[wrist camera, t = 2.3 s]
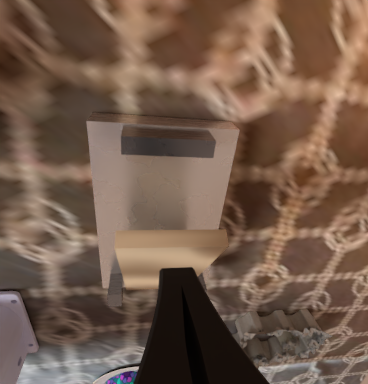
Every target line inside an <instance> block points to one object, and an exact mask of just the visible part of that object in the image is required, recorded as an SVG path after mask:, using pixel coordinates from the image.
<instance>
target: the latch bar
mask: <svg viewBox="0 0 368 384" xmlns="http://www.w3.org/2000/svg"><path fill="white" fill-rule="evenodd" d="M228 246H229V244H228V237H227V231H226V229H213V230H120V231H116V234H115V252H116V255H117V259H118V262H119V266H120V269H121V273H122V276H123V280H124V283H125V286H126V290H141V289H158V285H159V271H160V270H161V269H162V268H182V267H192V268H193V269H194V270H195V272H196V274H197V276H199V275H200V274H201V273H202V272H203V271H204V270H205V269H206V268H207V267H208V266H209V265H210V264H211V263H212V262H213V261H214V260H215V259H216V258H217V257H218V256H219V255H220V254H221V253H222V252H223V251H224V250H225V249H226V248H227V247H228Z"/></svg>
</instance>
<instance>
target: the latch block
mask: <svg viewBox="0 0 368 384" xmlns="http://www.w3.org/2000/svg"><path fill="white" fill-rule="evenodd" d="M87 130H88V140H89V151H90V161H91V171H92V182H93V192H94V202H95V213H96V223H97V233H98V244H99V254H100V264H101V274H102V285H103V288H108V294H107V296H108V307H115V306H122V297H123V287H126V286H125V283H124V280H123V276H122V273H121V269H120V266H119V262H118V259H117V255H116V252H115V234H116V231H120V230H213V229H219V224H220V220H221V215H222V210H223V206H224V201H225V196H226V192H227V187H228V182H229V178H230V173H231V168H232V164H233V159H234V154H235V149H236V145H237V140H238V135H239V131H240V130H239V129H238V128H237V127H236V126H235V125H234V124H233V123H231V122H230V121H218V120H202V119H187V118H172V117H157V116H141V115H126V114H111V113H95V112H93V113H92V114H91V116H90V117H89V118H88V120H87ZM210 266H211V264H210V265H209V266H208V267H207V268H206V269H205V270H204V271H203V272H202V273H201V274H200V275H199V276H198V278H199V280H200V282H201V284H202V286H203V288H204V290H205V292H206V291H207V288H206V284H205V283H207V280H208V276H209V271H210Z"/></svg>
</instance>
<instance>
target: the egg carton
mask: <svg viewBox="0 0 368 384" xmlns="http://www.w3.org/2000/svg"><path fill="white" fill-rule="evenodd" d="M235 325H236V328H237V331H238V332H237V333H235V334H232V335H233V337H234V338H235V340H236V341H237V343H238V344H239V345H240V347H241V348H242V349H243V351H244V352H245V354H246V355H247V356H248V357H249V359H250V360H251V361H252V363H253V364H254V365H255V366H256V368H257V369H258V368H259V366H269V364H270V363H272V362H282V361H285V360H288V359H290V358H294V357H295V356H296V355H298V356H299V357H300V358H306V357H307V358H309V352H310V351H311V353H312V354H315V351H316V349H319V348H320V345H322V344H325V340H326V339H327V338H329V337H333V336H331V335H329V334H327V333H325V332H323V331H322V330H321V328H320V327H319V325H318V324H317V322H316V321H315V319H314V317H313V315H311V314H310V312H309V311H308V310H307V309H301V310H299V311H298V312H297V313H295V314H293V315H289V316H287V315H285V314H284V312H283V310H275V311H274V312H273V313H272V314H270V315H268V316H265V317H260V316H258V314H257V311H250V312H248V313H247V314H246V315H245V316H243V317H241V318H238V319H237V320H236V322H235ZM256 334H266V335H267V336H273V334H274V335H275V336H274V337H271V338H269V339H268V340H267V341H261V342H260V341H259V339H258V338H253V337H254V336H255V335H256Z"/></svg>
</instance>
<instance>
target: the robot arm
mask: <svg viewBox="0 0 368 384" xmlns="http://www.w3.org/2000/svg"><path fill="white" fill-rule="evenodd" d="M38 348H39V346H38V343H37V340H36V337H35V334H34V332H33V329H32V326H31V323H30V320H29V317H28V315H27V312H26V309H25V306H24V303H23V300H22V297H21V295H20V293H19V292H16V291H4V292H0V384H16V382H17V379H18V377H19V374H20V371H21V369H22V366H23V363H24V361H25V358H26V355H27V353H34V352H37V351H38ZM133 384H269V382H268V381H267V380H266V379H265V377H264V376H263V375H262V374H261V373H260V371H259V370H258V369H257V368H256V366H255V365H254V364H253V363H252V361H251V360H250V359H249V357H248V356H247V355H246V354H245V352H244V351H243V349H242V348H241V347H240V345H239V344H238V343H237V341H236V340H235V338H234V337H233V335H232V334H231V332H230V331H229V330H228V328H227V327H226V325H225V324H224V322H223V320H222V319H221V317H220V316H219V314H218V312H217V311H216V309H215V307H214V306H213V304H212V303H211V301H210V299H209V297H208V296H207V294H206V292H205V290H204V288H203V286H202V284H201V282H200V280H199V278H198V276H197V274H196V272H195V270H194V269H193V268H192V267H182V268H162V269H161V270H160V271H159V285H158V299H157V304H156V309H155V314H154V318H153V322H152V326H151V330H150V333H149V337H148V340H147V344H146V347H145V350H144V354H143V357H142V360H141V363H140V366H139V369H138V372H137V375H136V377H135V380H134V383H133Z"/></svg>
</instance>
